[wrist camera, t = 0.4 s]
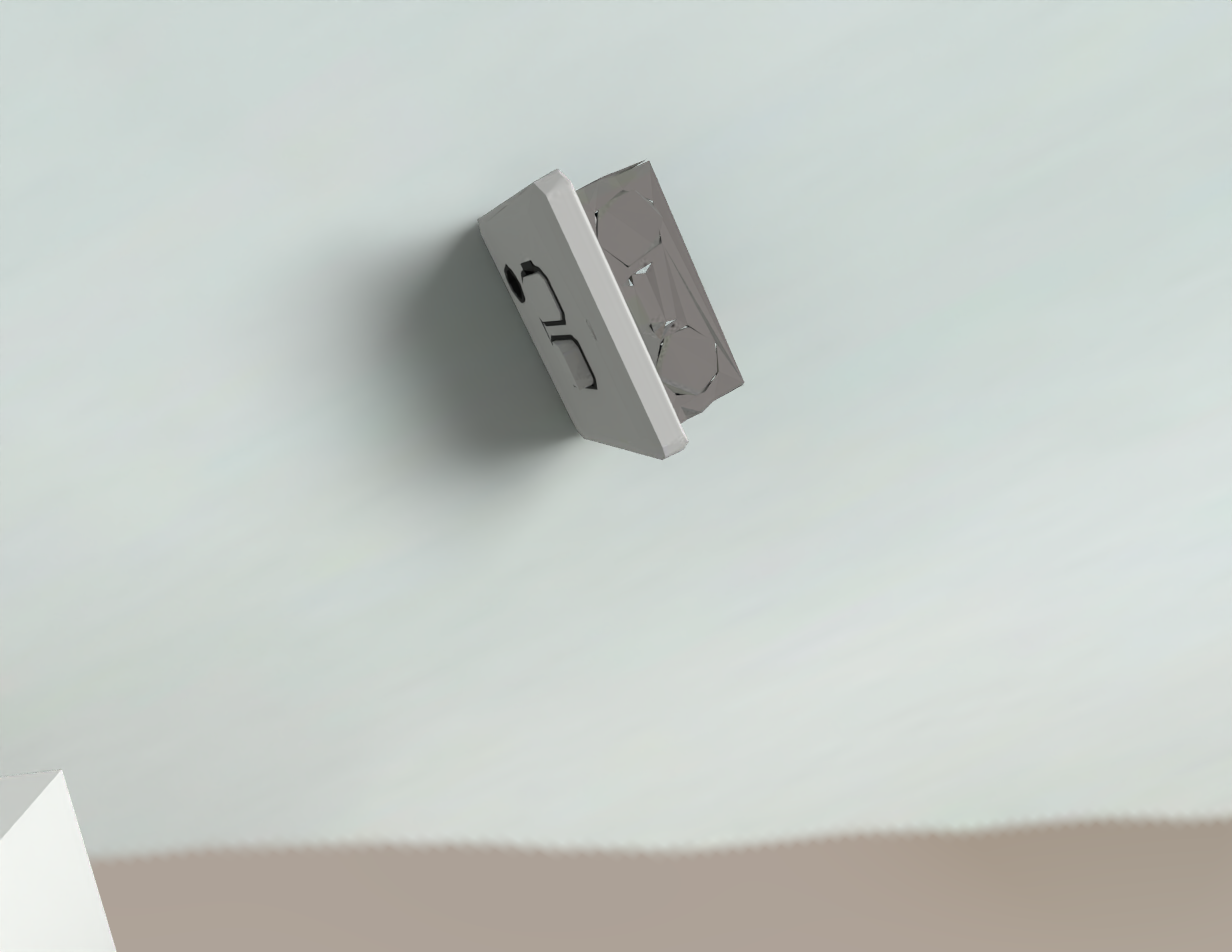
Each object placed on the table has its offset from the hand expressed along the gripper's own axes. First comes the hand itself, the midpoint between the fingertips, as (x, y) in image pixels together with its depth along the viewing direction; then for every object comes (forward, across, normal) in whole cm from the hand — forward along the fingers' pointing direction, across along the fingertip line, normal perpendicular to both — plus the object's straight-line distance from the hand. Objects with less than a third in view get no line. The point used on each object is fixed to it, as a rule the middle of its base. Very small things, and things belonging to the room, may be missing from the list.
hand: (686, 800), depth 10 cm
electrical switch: (+28, 0, +3) cm, 28 cm away
